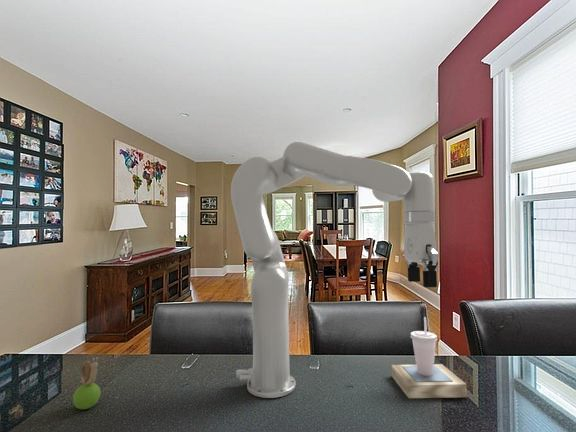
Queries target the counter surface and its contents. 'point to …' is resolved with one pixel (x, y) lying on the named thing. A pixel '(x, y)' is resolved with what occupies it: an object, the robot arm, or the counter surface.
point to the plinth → (428, 382)
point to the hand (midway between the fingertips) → (421, 284)
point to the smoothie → (424, 350)
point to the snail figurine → (87, 387)
